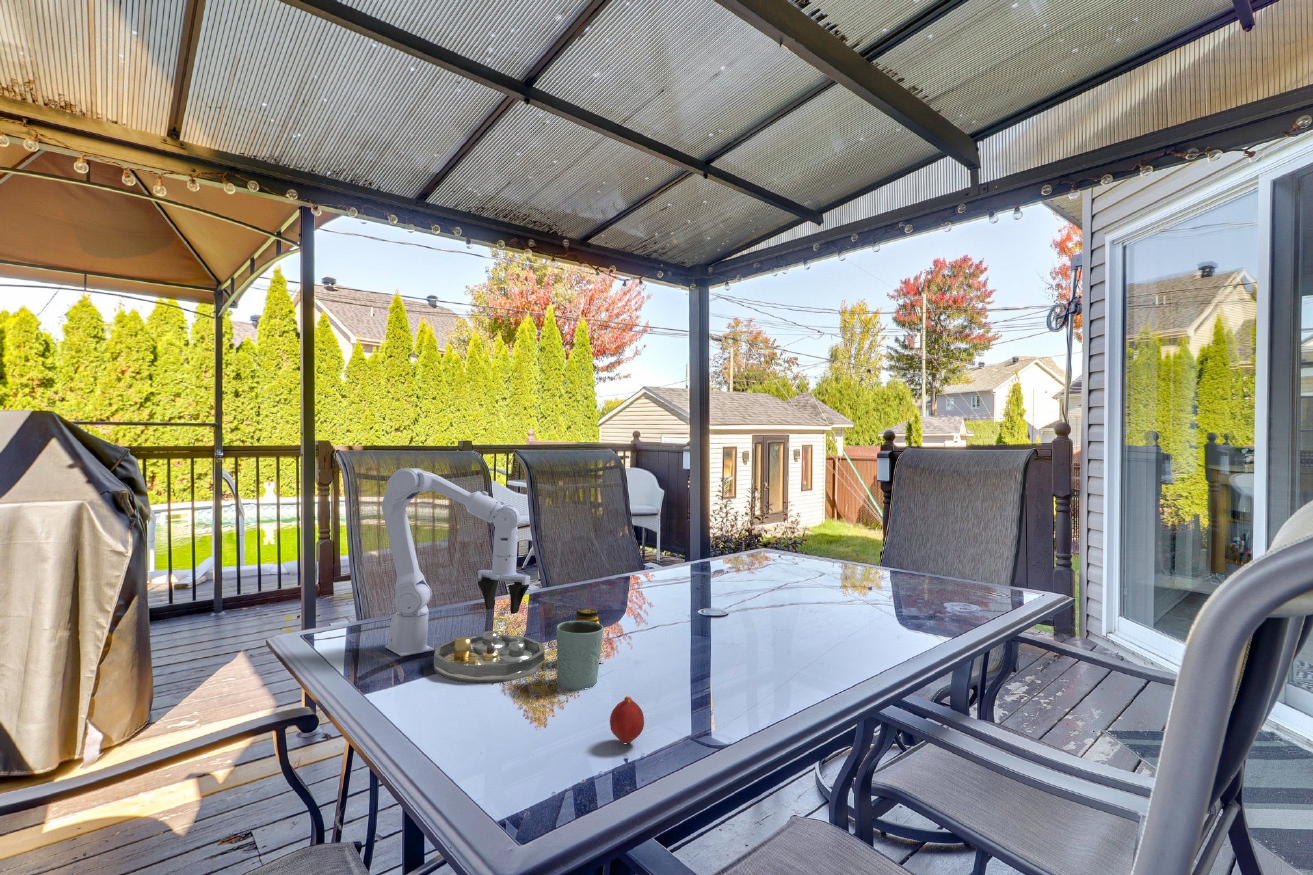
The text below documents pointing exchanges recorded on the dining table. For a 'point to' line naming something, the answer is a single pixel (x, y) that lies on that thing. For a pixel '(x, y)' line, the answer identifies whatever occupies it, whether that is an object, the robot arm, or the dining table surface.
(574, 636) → the green cup
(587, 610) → the condiment
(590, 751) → the dining table surface
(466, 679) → the tray
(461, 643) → the brass octagonal knob
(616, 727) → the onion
